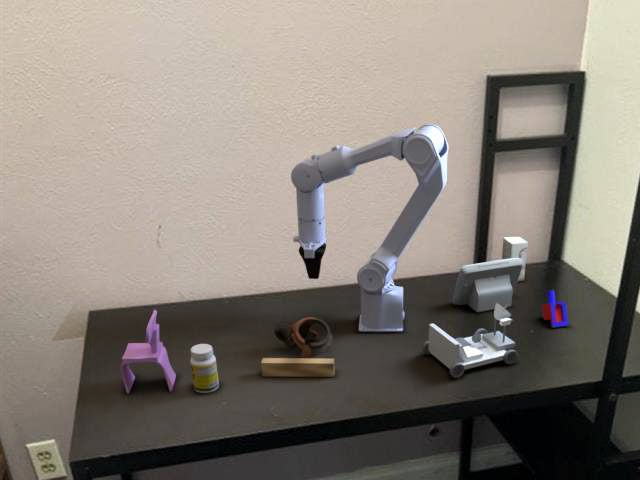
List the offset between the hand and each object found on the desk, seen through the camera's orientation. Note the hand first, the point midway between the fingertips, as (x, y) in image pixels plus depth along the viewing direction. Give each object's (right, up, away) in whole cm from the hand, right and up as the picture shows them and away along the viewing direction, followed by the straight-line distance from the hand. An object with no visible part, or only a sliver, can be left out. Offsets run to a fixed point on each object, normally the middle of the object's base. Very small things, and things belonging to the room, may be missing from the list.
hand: (313, 277), depth 171 cm
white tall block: (+48, +3, +23) cm, 53 cm away
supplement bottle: (-19, -24, -22) cm, 38 cm away
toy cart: (+33, -18, -13) cm, 40 cm away
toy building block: (+53, -10, +1) cm, 54 cm away
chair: (-30, -24, -21) cm, 44 cm away
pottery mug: (-1, -17, -10) cm, 19 cm away
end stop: (-2, -21, -18) cm, 28 cm away
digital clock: (+39, -5, +11) cm, 41 cm away
